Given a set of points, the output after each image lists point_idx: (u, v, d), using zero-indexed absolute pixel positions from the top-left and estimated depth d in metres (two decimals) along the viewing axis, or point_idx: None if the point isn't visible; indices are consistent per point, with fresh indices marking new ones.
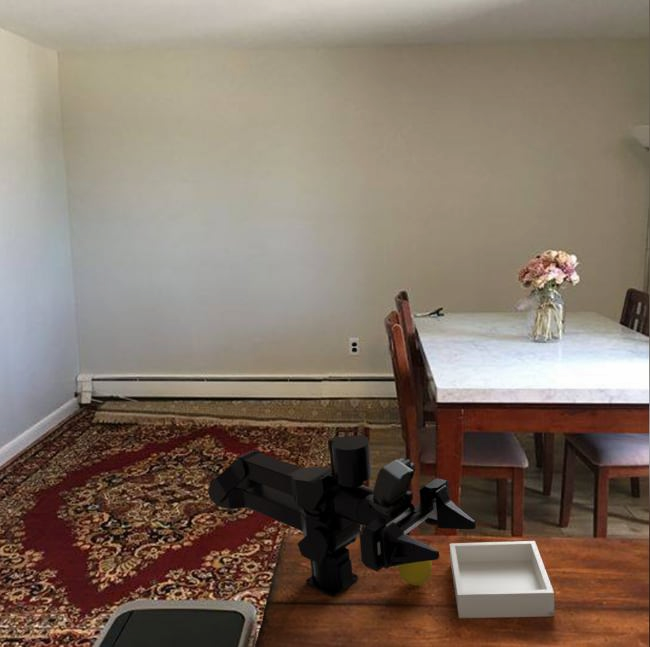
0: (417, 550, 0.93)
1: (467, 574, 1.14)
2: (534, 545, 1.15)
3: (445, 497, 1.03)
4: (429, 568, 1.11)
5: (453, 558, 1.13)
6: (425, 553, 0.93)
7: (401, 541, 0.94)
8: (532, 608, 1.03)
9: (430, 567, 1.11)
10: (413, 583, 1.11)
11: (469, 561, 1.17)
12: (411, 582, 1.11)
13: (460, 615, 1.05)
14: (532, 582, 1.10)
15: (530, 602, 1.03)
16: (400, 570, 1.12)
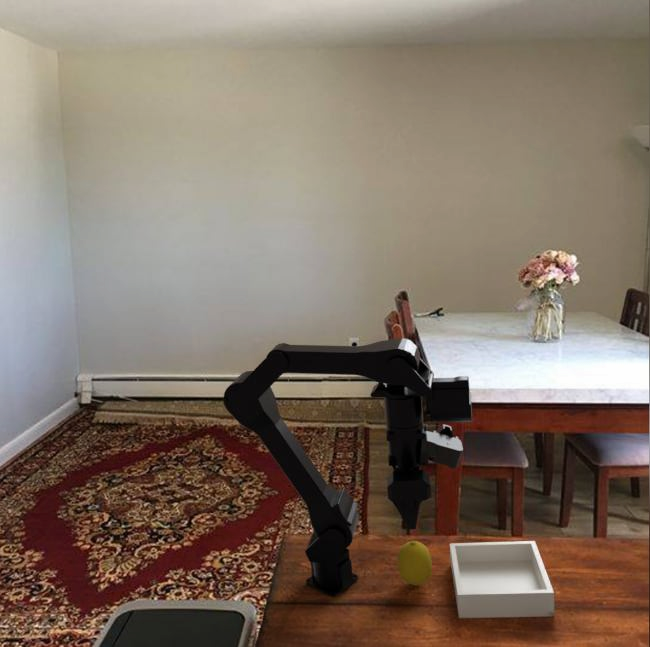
0: (413, 515, 1.04)
1: (467, 574, 1.14)
2: (534, 545, 1.15)
3: None
4: (429, 568, 1.11)
5: (453, 558, 1.13)
6: (411, 521, 1.05)
7: (418, 505, 1.03)
8: (532, 608, 1.03)
9: (430, 567, 1.11)
10: (413, 583, 1.11)
11: (469, 561, 1.17)
12: (411, 582, 1.11)
13: (460, 615, 1.05)
14: (532, 582, 1.10)
15: (530, 602, 1.03)
16: (400, 570, 1.12)
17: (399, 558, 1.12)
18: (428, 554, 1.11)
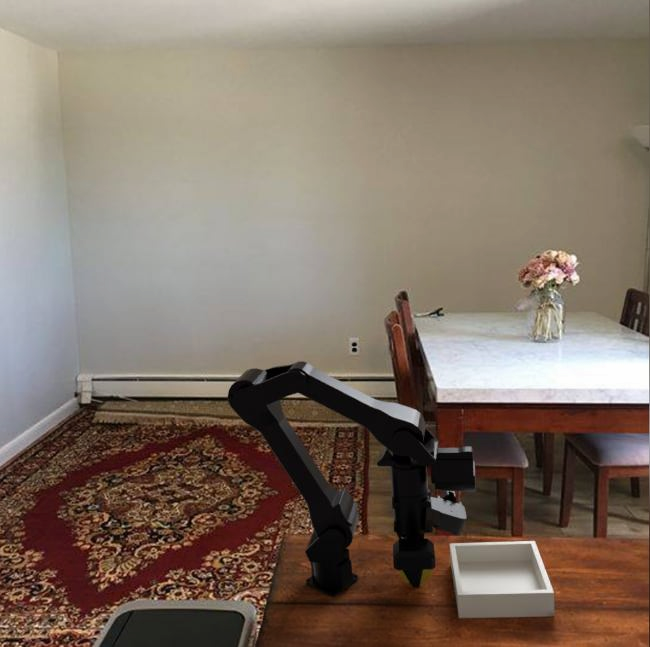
0: (417, 575, 1.09)
1: (467, 574, 1.14)
2: (534, 545, 1.15)
3: None
4: None
5: (453, 558, 1.13)
6: (415, 580, 1.09)
7: None
8: (532, 608, 1.03)
9: None
10: None
11: (469, 561, 1.17)
12: None
13: (460, 615, 1.05)
14: (532, 582, 1.10)
15: (530, 602, 1.03)
16: (400, 570, 1.12)
17: None
18: None
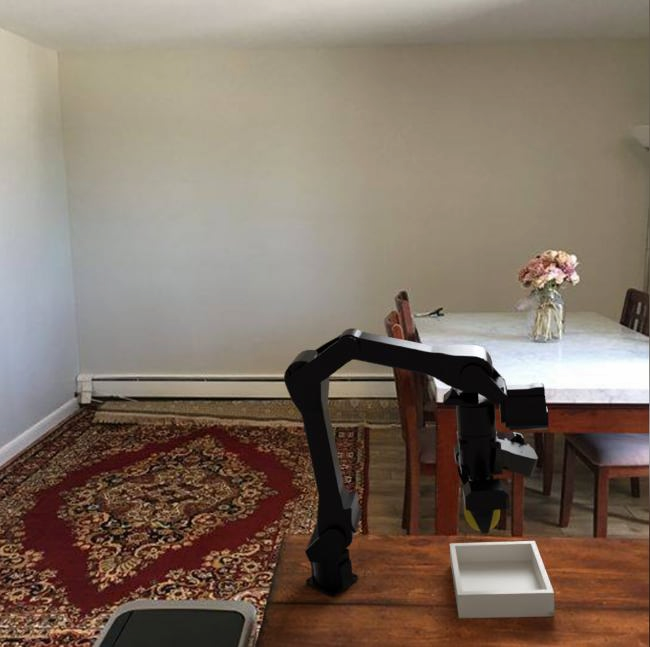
0: (486, 520, 1.04)
1: (467, 574, 1.14)
2: (534, 545, 1.15)
3: None
4: (498, 513, 1.06)
5: (453, 558, 1.13)
6: (485, 525, 1.05)
7: (493, 509, 1.03)
8: (532, 608, 1.03)
9: (499, 512, 1.07)
10: None
11: (469, 561, 1.17)
12: None
13: (460, 615, 1.05)
14: (532, 582, 1.10)
15: (530, 602, 1.03)
16: (467, 516, 1.07)
17: None
18: None
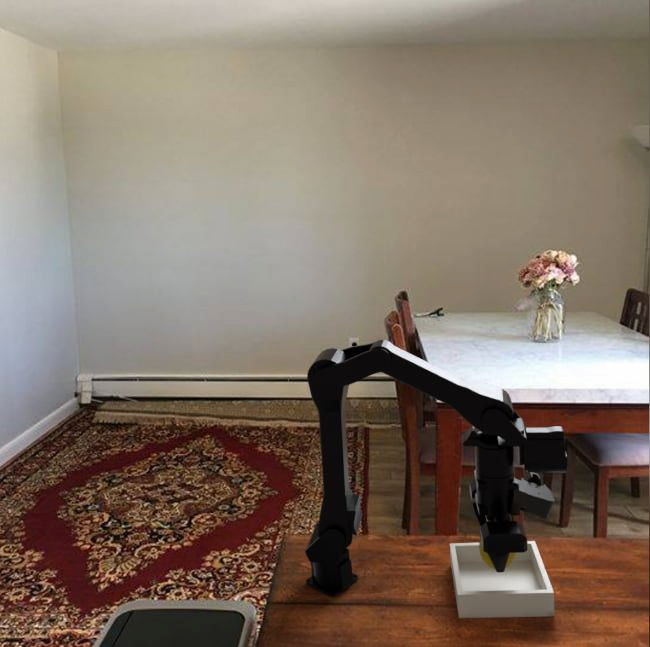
0: (502, 559, 1.05)
1: (467, 574, 1.14)
2: (534, 545, 1.15)
3: None
4: None
5: (453, 558, 1.13)
6: (500, 565, 1.06)
7: None
8: (532, 608, 1.03)
9: None
10: None
11: (469, 561, 1.17)
12: None
13: (460, 615, 1.05)
14: (532, 582, 1.10)
15: (530, 602, 1.03)
16: (483, 554, 1.08)
17: None
18: None
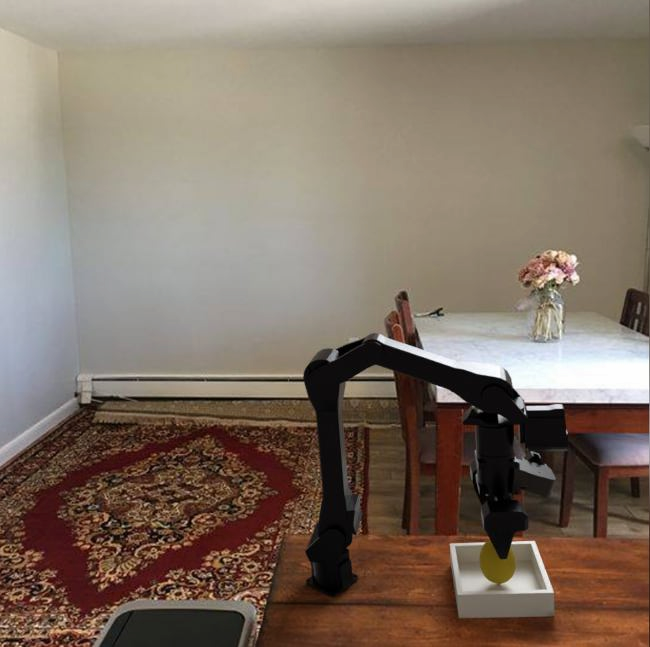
0: (505, 545, 1.03)
1: (467, 574, 1.14)
2: (534, 545, 1.15)
3: None
4: (514, 566, 1.08)
5: (453, 558, 1.13)
6: (503, 551, 1.03)
7: (512, 535, 1.02)
8: (532, 608, 1.03)
9: (514, 565, 1.08)
10: (497, 582, 1.08)
11: (469, 561, 1.17)
12: (495, 581, 1.08)
13: (460, 615, 1.05)
14: (532, 582, 1.10)
15: (530, 602, 1.03)
16: (483, 569, 1.09)
17: (482, 556, 1.09)
18: (512, 552, 1.08)
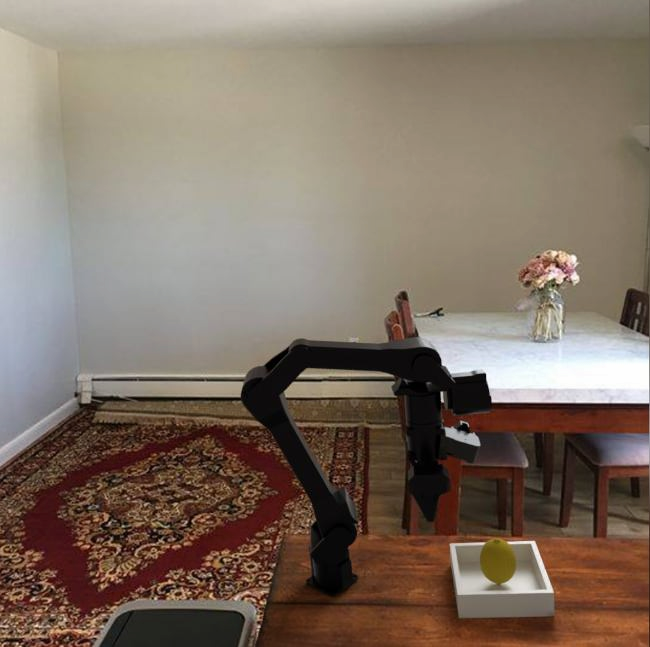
0: (431, 508, 1.08)
1: (467, 574, 1.14)
2: (534, 545, 1.15)
3: None
4: (514, 566, 1.08)
5: (453, 558, 1.13)
6: (430, 514, 1.09)
7: (437, 498, 1.07)
8: (532, 608, 1.03)
9: (515, 565, 1.08)
10: (497, 582, 1.08)
11: (469, 561, 1.17)
12: (495, 581, 1.08)
13: (460, 615, 1.05)
14: (532, 582, 1.10)
15: (530, 602, 1.03)
16: (484, 568, 1.09)
17: (482, 555, 1.09)
18: (513, 552, 1.09)
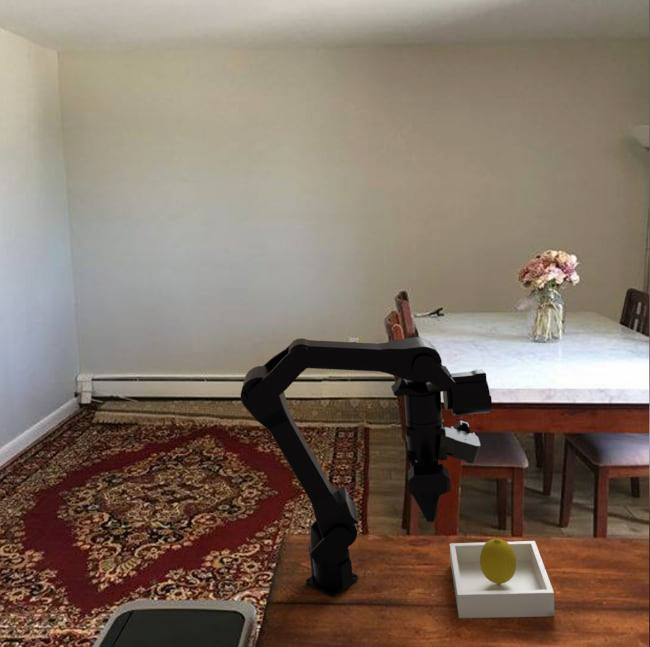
0: (431, 508, 1.08)
1: (467, 574, 1.14)
2: (534, 545, 1.15)
3: None
4: (514, 567, 1.08)
5: (453, 558, 1.13)
6: (430, 514, 1.09)
7: (437, 498, 1.07)
8: (532, 608, 1.03)
9: (515, 565, 1.08)
10: (497, 582, 1.08)
11: (469, 561, 1.17)
12: (495, 581, 1.08)
13: (460, 615, 1.05)
14: (532, 582, 1.10)
15: (530, 602, 1.03)
16: (484, 568, 1.09)
17: (482, 556, 1.09)
18: (513, 552, 1.08)
